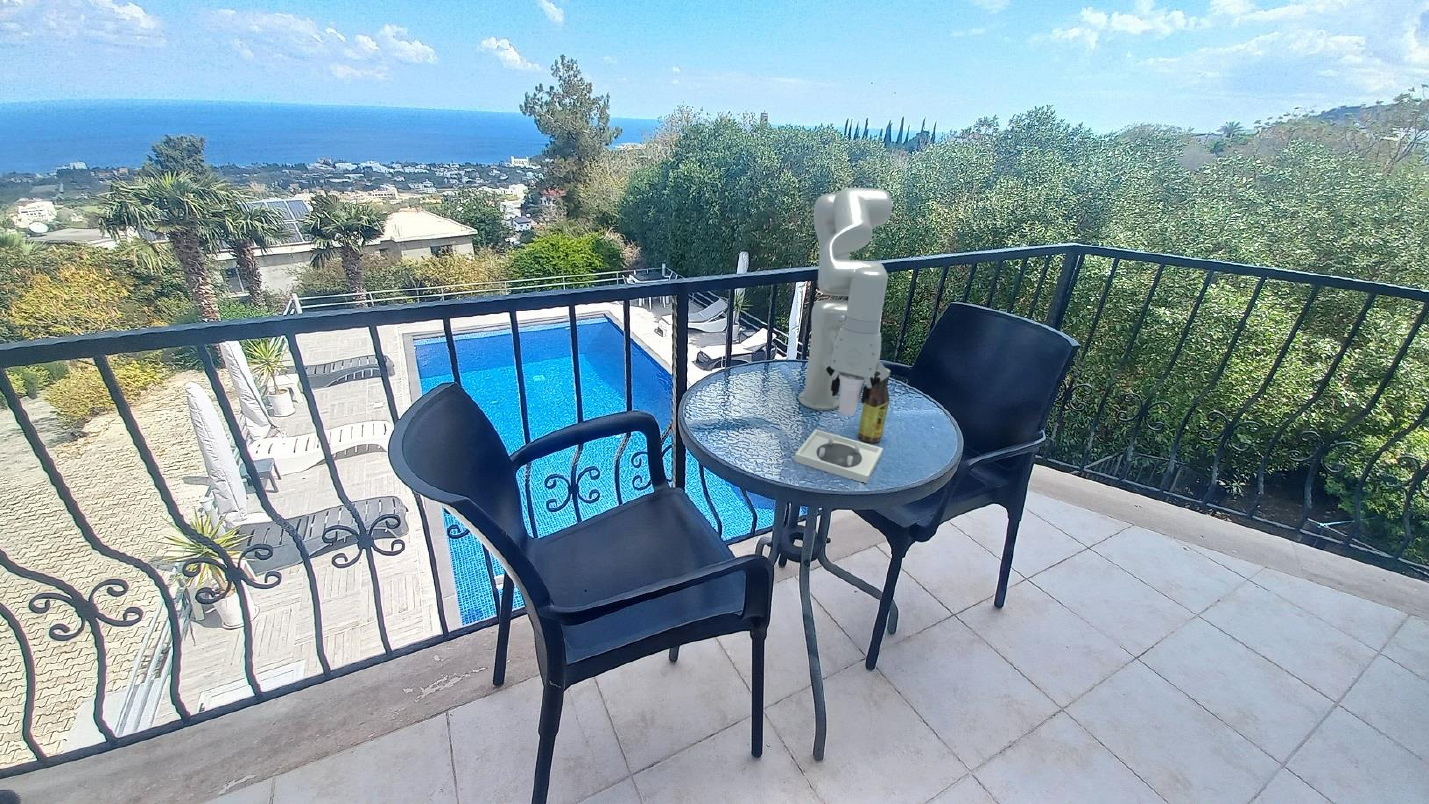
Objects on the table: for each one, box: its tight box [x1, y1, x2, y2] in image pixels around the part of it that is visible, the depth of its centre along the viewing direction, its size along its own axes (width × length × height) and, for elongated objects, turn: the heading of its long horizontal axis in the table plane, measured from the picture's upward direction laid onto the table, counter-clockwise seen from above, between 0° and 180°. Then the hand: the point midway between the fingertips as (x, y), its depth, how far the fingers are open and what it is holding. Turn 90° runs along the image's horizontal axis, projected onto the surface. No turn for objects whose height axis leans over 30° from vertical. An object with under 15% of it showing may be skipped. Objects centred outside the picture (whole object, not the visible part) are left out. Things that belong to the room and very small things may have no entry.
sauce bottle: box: [857, 367, 892, 444], centre depth 141 cm, size 7×6×20 cm
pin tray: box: [793, 428, 884, 484], centre depth 134 cm, size 15×18×4 cm
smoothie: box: [838, 372, 866, 417], centre depth 126 cm, size 6×6×14 cm
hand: (849, 397), depth 127 cm, fingers closed on smoothie, 6 cm apart
